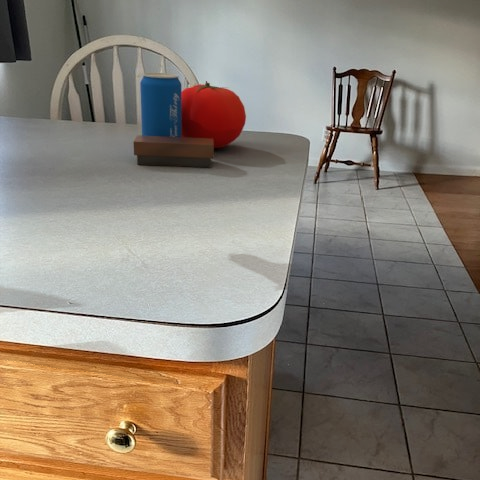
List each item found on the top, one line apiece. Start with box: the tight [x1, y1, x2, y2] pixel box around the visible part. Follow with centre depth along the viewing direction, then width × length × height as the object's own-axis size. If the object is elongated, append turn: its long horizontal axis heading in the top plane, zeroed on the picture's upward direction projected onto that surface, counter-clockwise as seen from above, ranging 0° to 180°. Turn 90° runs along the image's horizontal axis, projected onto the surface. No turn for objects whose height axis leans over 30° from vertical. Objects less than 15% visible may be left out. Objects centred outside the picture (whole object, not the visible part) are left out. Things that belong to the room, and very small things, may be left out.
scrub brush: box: [133, 134, 215, 168], centre depth 84 cm, size 12×5×4 cm, turn 93°
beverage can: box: [139, 72, 182, 137], centre depth 88 cm, size 6×6×12 cm
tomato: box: [181, 80, 247, 149], centre depth 94 cm, size 13×12×11 cm
